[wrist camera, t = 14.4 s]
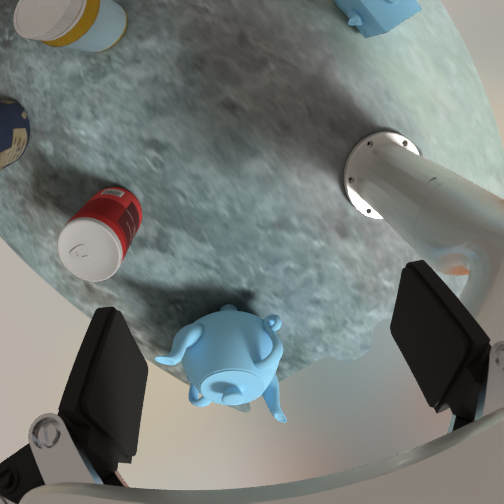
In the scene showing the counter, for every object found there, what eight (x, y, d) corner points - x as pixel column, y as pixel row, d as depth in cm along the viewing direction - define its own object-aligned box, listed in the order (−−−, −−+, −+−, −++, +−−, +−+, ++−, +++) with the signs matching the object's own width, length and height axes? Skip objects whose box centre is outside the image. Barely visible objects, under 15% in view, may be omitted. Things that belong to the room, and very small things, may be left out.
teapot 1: (274, 362, 56) (286, 424, 44) (172, 359, 54) (165, 423, 42) (291, 297, 48) (312, 365, 36) (167, 290, 46) (153, 361, 34)
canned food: (80, 204, 37) (44, 242, 28) (122, 173, 36) (90, 205, 26) (112, 246, 41) (86, 292, 31) (154, 219, 40) (135, 263, 30)
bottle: (83, 61, 28) (14, 58, 15) (74, 18, 24) (7, -2, 11) (134, 40, 27) (82, 16, 15) (123, -5, 24) (72, -44, 11)
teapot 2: (344, 51, 30) (370, 45, 24) (312, 15, 28) (332, 1, 21) (402, 12, 27) (434, 3, 20) (375, -23, 24) (403, -37, 18)
